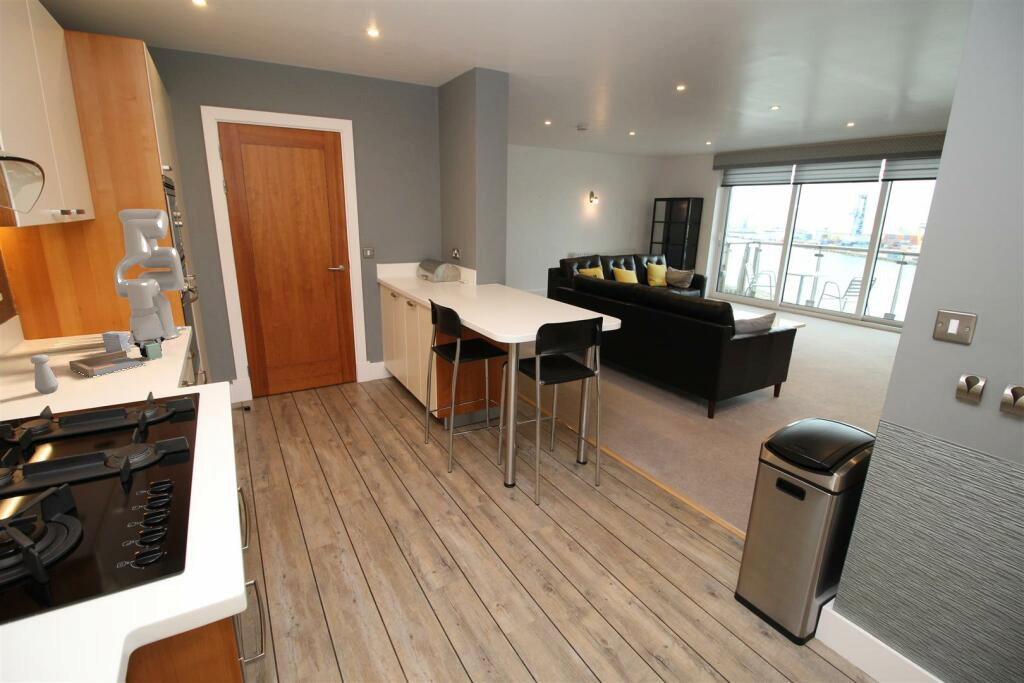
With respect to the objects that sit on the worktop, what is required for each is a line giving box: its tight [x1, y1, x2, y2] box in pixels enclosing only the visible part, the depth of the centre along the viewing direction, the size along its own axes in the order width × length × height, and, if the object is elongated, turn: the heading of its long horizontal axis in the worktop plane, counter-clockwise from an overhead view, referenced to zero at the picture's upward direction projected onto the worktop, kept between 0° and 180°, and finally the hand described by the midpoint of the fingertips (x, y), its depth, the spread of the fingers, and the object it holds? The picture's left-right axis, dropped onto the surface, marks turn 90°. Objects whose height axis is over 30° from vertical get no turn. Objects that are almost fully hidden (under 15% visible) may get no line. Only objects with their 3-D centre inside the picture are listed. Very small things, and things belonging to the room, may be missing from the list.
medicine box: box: [101, 330, 132, 354], centre depth 209 cm, size 8×4×9 cm, turn 84°
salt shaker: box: [30, 353, 59, 395], centre depth 163 cm, size 6×6×13 cm
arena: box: [68, 350, 147, 378], centre depth 190 cm, size 18×18×3 cm
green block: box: [141, 340, 163, 361], centre depth 201 cm, size 4×7×6 cm, turn 58°
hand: (151, 354), depth 202 cm, fingers closed on green block, 4 cm apart
